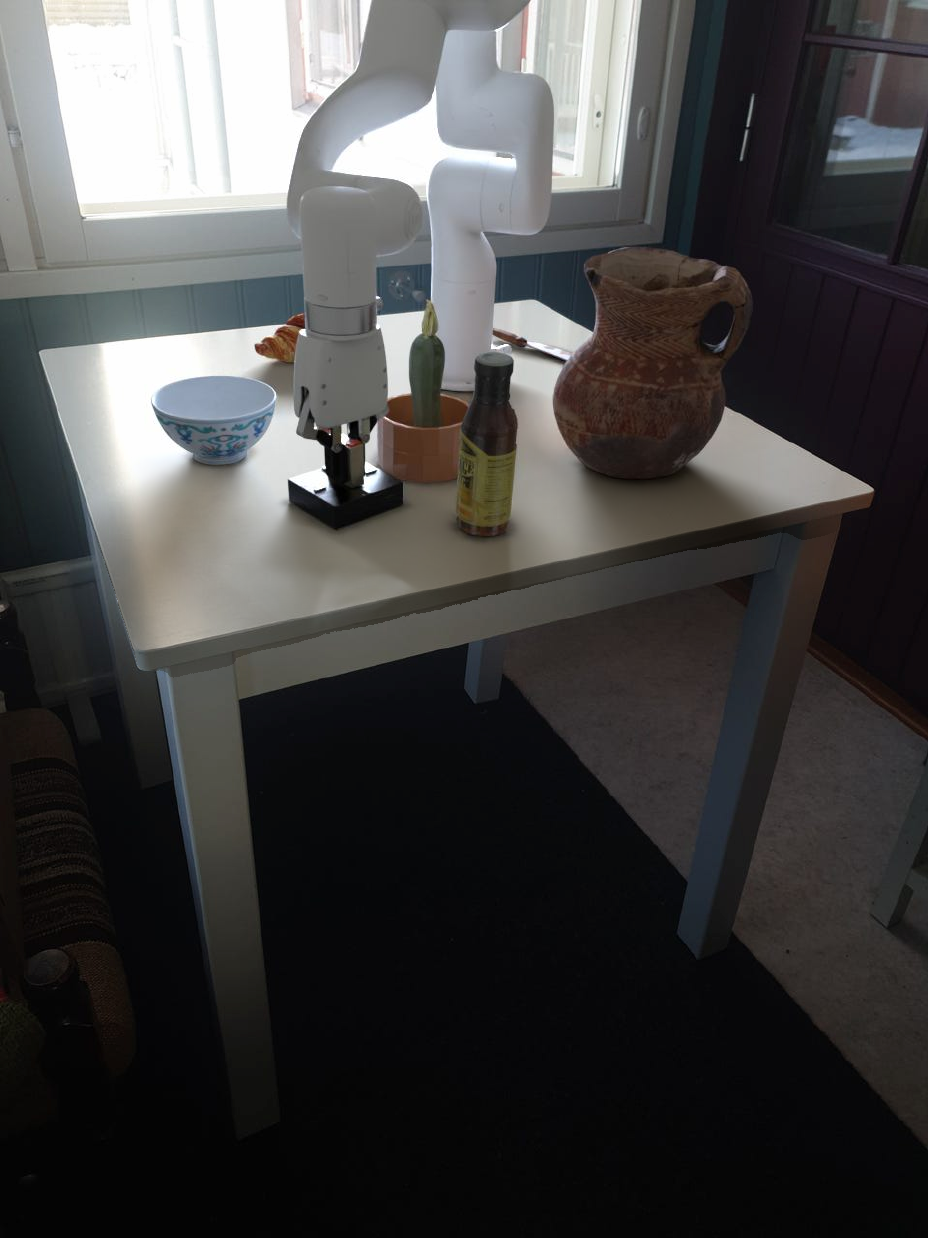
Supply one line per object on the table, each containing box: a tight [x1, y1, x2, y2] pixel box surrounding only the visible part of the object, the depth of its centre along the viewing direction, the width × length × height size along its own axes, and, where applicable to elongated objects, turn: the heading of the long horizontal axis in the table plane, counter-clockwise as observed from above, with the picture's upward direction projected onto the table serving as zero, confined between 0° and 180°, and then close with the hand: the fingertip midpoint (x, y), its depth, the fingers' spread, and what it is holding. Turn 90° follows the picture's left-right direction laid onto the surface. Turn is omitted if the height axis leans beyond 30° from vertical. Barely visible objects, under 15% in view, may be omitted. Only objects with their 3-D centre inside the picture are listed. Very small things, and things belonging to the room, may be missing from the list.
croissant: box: [254, 312, 305, 364], centre depth 155 cm, size 21×10×8 cm, turn 126°
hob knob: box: [342, 433, 364, 488], centre depth 110 cm, size 5×2×5 cm, turn 44°
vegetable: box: [408, 298, 445, 428], centre depth 118 cm, size 4×4×20 cm
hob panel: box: [287, 461, 405, 531], centre depth 112 cm, size 10×9×3 cm
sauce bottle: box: [455, 352, 519, 537], centre depth 104 cm, size 7×6×20 cm
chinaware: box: [150, 375, 277, 466], centre depth 121 cm, size 15×15×8 cm
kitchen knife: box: [492, 327, 573, 362], centre depth 163 cm, size 21×2×5 cm
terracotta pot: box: [376, 392, 470, 484], centre depth 122 cm, size 12×12×7 cm
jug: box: [552, 246, 754, 480], centre depth 120 cm, size 22×21×25 cm
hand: (345, 475), depth 111 cm, fingers closed on hob knob, 2 cm apart
